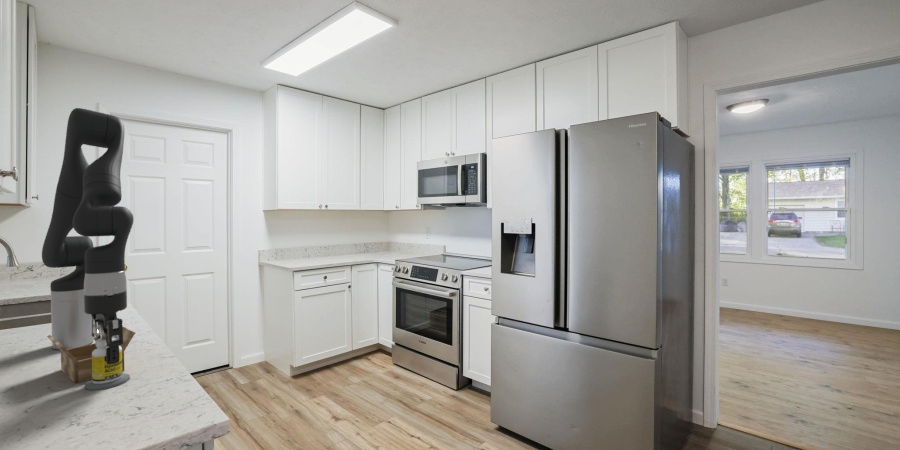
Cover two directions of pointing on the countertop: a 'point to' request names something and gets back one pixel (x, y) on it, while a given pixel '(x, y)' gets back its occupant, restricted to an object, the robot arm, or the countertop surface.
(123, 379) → the coaster
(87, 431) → the countertop surface
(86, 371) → the carton
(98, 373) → the supplement bottle
